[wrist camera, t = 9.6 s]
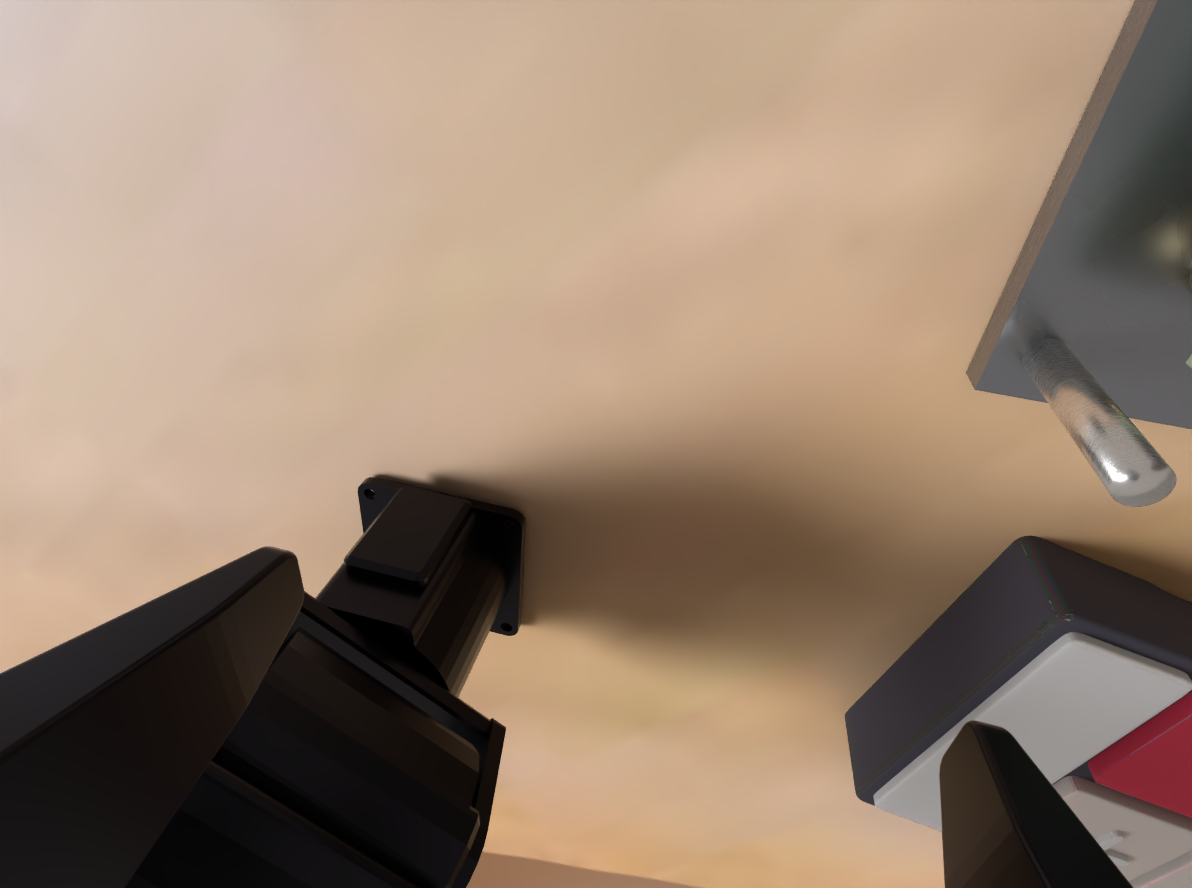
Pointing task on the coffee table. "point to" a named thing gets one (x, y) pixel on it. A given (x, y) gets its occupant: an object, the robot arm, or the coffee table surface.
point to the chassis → (1112, 266)
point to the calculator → (1049, 702)
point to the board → (1189, 361)
